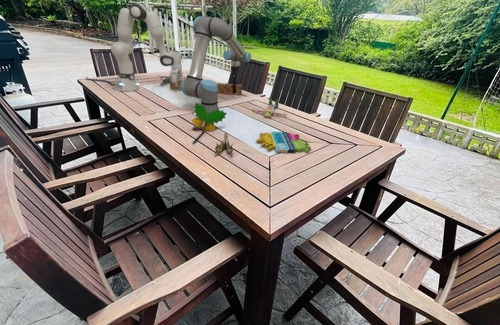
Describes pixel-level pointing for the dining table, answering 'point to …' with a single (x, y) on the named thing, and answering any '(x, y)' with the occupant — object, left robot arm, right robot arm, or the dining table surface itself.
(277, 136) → the sign
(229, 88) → the beam
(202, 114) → the ornament
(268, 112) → the toy
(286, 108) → the dining table surface
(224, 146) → the jawbone
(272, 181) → the dining table surface
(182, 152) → the dining table surface
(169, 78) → the airplane
